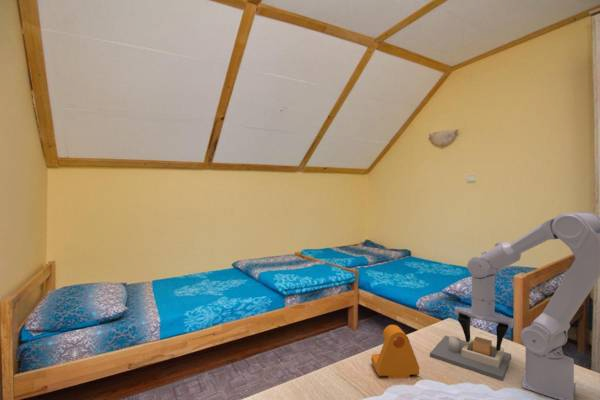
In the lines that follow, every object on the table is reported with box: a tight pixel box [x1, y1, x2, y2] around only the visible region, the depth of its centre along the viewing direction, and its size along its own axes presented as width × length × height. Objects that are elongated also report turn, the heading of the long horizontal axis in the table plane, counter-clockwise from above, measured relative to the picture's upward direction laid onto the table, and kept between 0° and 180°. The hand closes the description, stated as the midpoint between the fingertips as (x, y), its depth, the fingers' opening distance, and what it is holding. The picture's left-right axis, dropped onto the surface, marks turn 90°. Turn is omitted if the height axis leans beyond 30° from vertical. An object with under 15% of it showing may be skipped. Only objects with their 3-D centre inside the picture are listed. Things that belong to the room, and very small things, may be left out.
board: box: [429, 335, 512, 381], centre depth 90 cm, size 18×15×4 cm
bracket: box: [371, 324, 420, 379], centre depth 83 cm, size 11×7×12 cm, turn 94°
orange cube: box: [473, 336, 493, 357], centre depth 88 cm, size 4×4×4 cm
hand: (482, 345), depth 88 cm, fingers open, 7 cm apart
